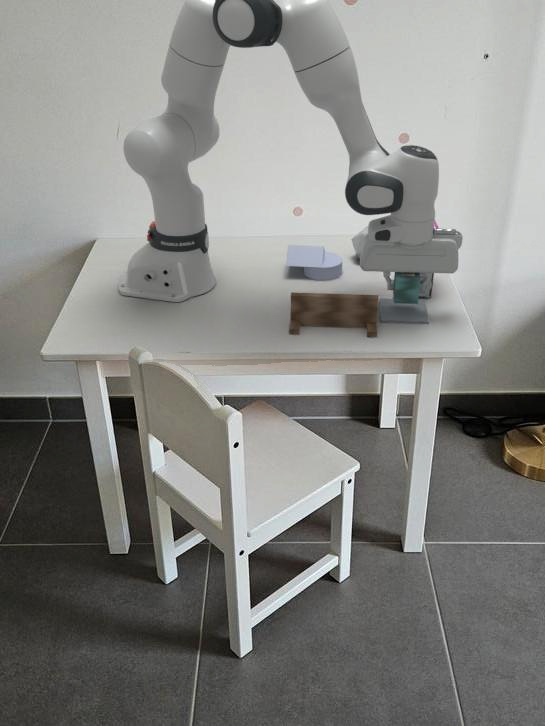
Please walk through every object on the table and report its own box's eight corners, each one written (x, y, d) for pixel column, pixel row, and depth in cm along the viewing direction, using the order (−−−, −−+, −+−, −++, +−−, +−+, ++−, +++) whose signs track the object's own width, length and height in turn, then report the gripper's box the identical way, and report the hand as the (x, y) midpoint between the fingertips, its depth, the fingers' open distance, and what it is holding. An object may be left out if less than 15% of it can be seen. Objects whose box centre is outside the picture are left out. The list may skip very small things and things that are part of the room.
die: (393, 263, 182) (388, 225, 183) (381, 258, 174) (376, 218, 175) (363, 269, 186) (358, 232, 186) (350, 265, 178) (345, 226, 179)
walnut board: (289, 334, 151) (289, 304, 148) (291, 321, 156) (291, 292, 152) (376, 337, 150) (379, 307, 146) (376, 324, 154) (378, 295, 151)
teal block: (394, 303, 155) (396, 276, 152) (392, 292, 159) (395, 266, 156) (417, 303, 155) (420, 277, 151) (416, 293, 159) (418, 267, 156)
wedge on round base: (285, 278, 174) (340, 281, 172) (285, 252, 170) (341, 255, 169) (290, 262, 181) (342, 265, 180) (290, 237, 178) (343, 239, 176)
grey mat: (380, 322, 155) (381, 320, 155) (379, 300, 164) (379, 298, 163) (428, 323, 154) (428, 321, 154) (424, 301, 163) (425, 299, 163)
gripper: (461, 223, 150) (453, 284, 158) (361, 221, 152) (358, 281, 160) (465, 235, 145) (457, 297, 152) (361, 232, 147) (358, 294, 154)
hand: (405, 289), depth 156 cm, fingers closed on teal block, 5 cm apart
